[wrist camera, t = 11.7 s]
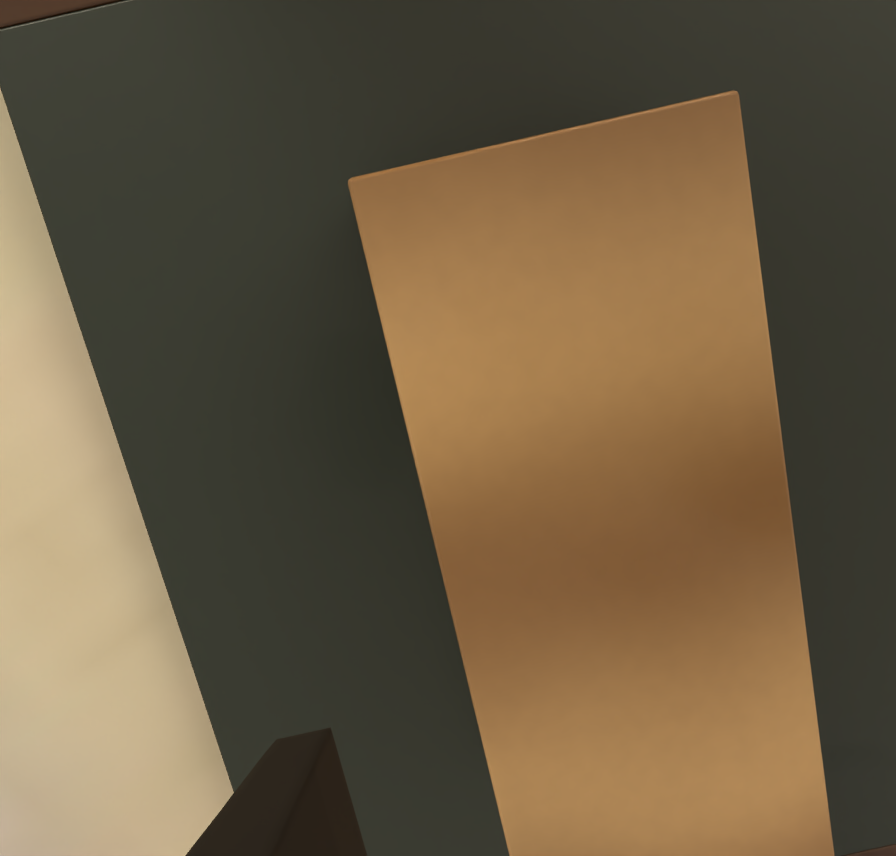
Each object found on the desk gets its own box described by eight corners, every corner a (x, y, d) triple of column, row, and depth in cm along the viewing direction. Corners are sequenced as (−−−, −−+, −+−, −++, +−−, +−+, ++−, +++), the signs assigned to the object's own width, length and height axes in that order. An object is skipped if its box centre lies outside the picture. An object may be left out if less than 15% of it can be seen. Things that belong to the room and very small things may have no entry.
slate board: (1057, 808, 19) (1099, 845, 18) (314, 972, 20) (308, 1020, 18) (1008, -262, 14) (1061, -305, 13) (-8, -26, 14) (-46, -48, 13)
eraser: (737, 724, 17) (838, 879, 13) (502, 776, 17) (530, 947, 13) (646, 127, 14) (740, 88, 10) (364, 192, 14) (346, 178, 10)
